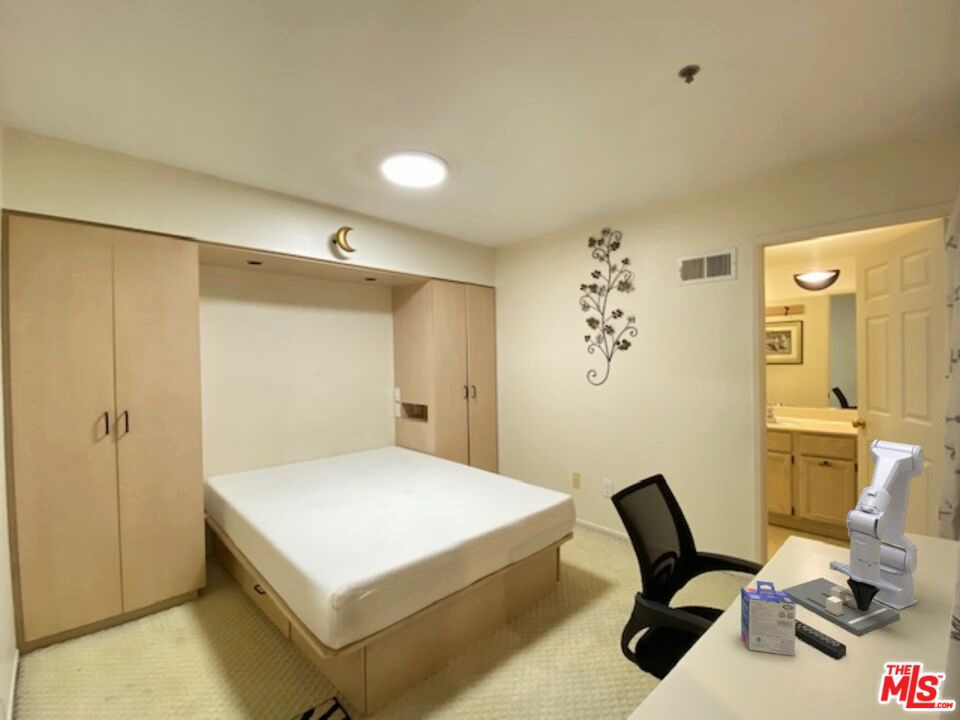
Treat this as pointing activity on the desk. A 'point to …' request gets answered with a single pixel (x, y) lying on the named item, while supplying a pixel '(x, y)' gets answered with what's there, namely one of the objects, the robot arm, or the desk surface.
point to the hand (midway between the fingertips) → (863, 609)
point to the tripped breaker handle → (839, 593)
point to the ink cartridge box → (768, 620)
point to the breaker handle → (834, 605)
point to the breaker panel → (853, 618)
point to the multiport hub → (819, 640)
